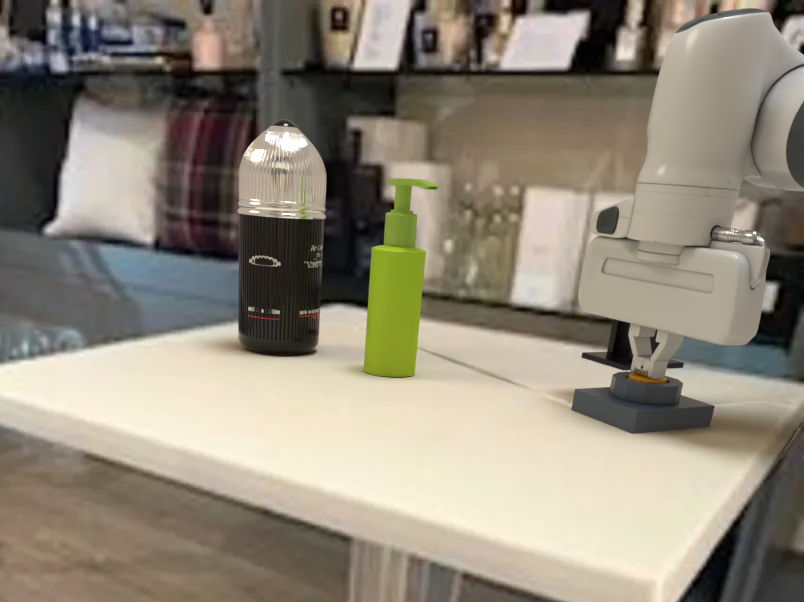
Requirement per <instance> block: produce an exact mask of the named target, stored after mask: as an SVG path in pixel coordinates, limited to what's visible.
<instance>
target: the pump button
mask: <svg viewBox="0 0 804 602" xmlns="http://www.w3.org/2000/svg"><path fill="white" fill-rule="evenodd" d="M628 379H631V380H635V381H639V382H645V383H655V384H665V383H666V382H667V378H665V377H663V378H662V379H650V378H647V377H644V376H641V375H638V374H634V373H631V374H629V377H628Z"/></svg>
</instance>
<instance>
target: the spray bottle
mask: <svg viewBox="0 0 804 602" xmlns="http://www.w3.org/2000/svg"><path fill="white" fill-rule="evenodd" d="M326 196H327V170H326V166H325V163H324V161H323V159H322V156H321V155H320V153H319V151H318V149H317V148H316V147H315V145H314V144H313V143H312V142H311V141H310V140H309V138H308V137H307V136H306V135H305V134H304V133H303V132H302V131H301V130H300V129H299V128H298V127H297V126H296V124H295V123H294V122H292V121H291V120H289V119H285V118H281V119H278V120H275V121H274V122H273V123H272V124H271V125H270V126H269V127H268V128H267V129H266V130H264V131H263V132H261V133H260V134H259V135H258V136H257V137H256V138H255V139H254V140H253V141H252V142H251V143H250V145H249V146H248V147H247V148H246V150H245V151H244V153H243V155H242V158H241V160H240V164H239V167H238V198H237V199H238V200H237V205H238V208H237V210H236V211H237V214H238V287H237V288H238V291H237V293H238V294H237V295H238V297H237V304H238V306H237V307H238V309H237V324H238V325H237V337H238V338H237V339H238V341H239V343H240V344H241V345H242V346H243V347H244V348H245V349H248V350H250V351H252V352H256V353H261V354H267V355H268V354H269V355H284V356H285V355H291V356H292V355H303V354H307V353H310V352H312V351H314V350H315V349H316V348H317V347H318V344H319V341H320V325H321V324H320V322H321V321H320V319H321V300H322V279H323V278H322V277H323V256H324V255H323V254H324V251H323V250H324V233H325V219H326V218H327V214H326V213H325V212H326V210H327V208H326V204H327V203H326V199H327V197H326Z"/></svg>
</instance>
